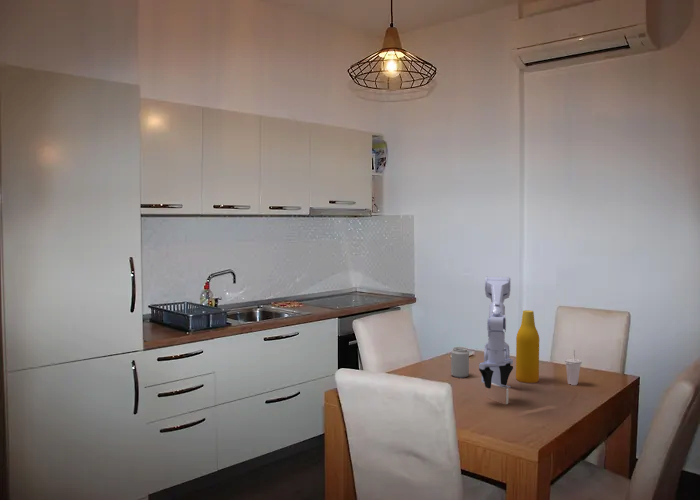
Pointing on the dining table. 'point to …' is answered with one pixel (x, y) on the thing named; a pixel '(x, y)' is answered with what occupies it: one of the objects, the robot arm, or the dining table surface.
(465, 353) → the can
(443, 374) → the dining table surface
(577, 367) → the smoothie
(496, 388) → the tile
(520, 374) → the beer bottle
